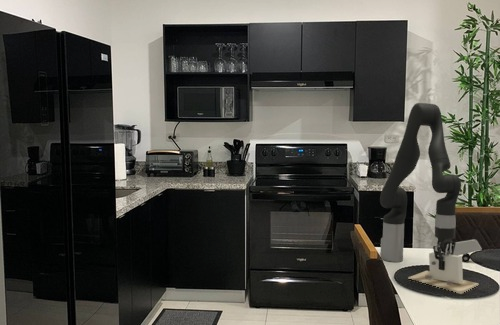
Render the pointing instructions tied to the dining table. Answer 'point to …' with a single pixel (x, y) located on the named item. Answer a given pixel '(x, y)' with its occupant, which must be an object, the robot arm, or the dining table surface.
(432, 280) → the light brown flat board
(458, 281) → the door panel
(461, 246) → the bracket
